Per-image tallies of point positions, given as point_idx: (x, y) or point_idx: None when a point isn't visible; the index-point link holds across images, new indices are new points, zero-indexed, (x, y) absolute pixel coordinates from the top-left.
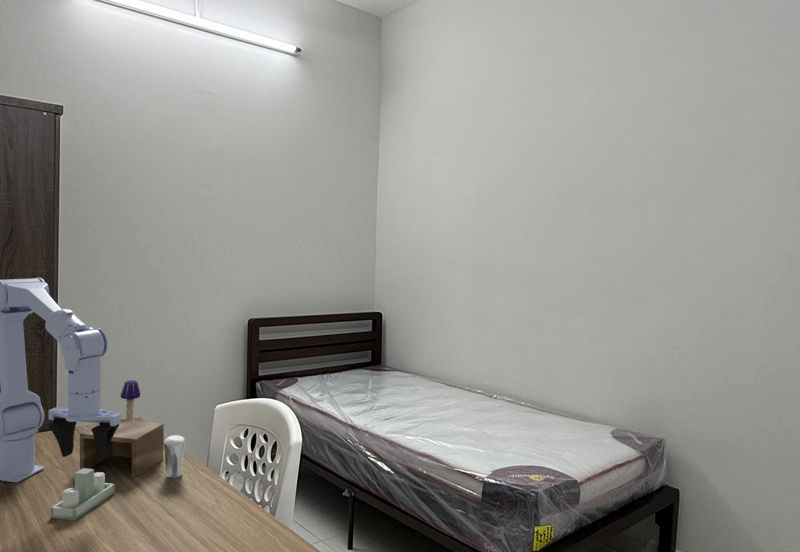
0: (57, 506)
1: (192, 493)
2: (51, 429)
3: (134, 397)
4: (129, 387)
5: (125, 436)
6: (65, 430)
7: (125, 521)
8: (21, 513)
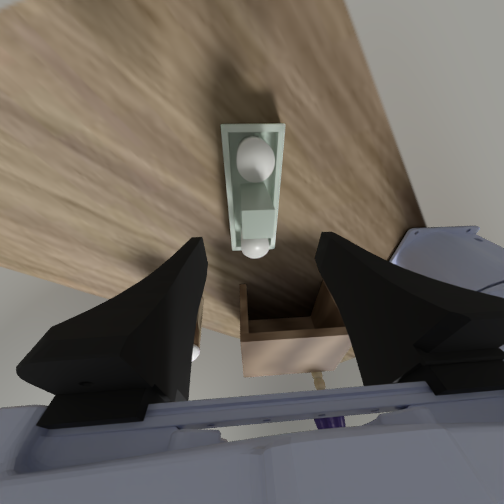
0: (277, 139)
1: (120, 269)
2: (474, 294)
3: None
4: None
5: (268, 344)
6: (378, 313)
7: (120, 152)
8: (353, 123)
